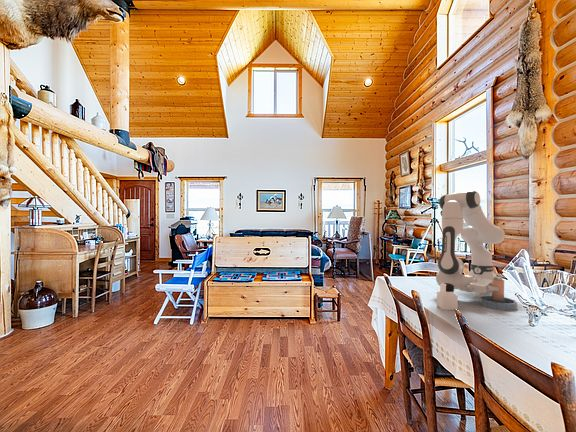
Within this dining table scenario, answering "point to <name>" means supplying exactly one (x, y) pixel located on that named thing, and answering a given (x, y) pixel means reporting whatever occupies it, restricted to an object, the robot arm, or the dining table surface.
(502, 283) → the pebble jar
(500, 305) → the bowl
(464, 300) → the dining table surface
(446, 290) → the medicine bottle
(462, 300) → the dining table surface
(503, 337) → the dining table surface
